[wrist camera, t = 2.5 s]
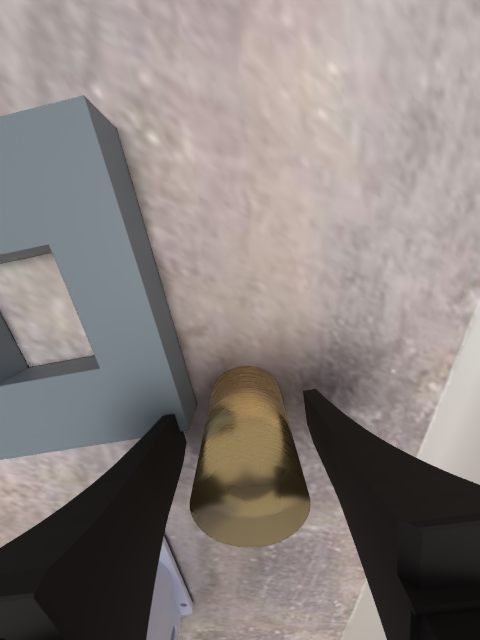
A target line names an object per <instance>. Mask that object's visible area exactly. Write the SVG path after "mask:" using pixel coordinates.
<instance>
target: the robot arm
mask: <svg viewBox="0 0 480 640" xmlns="http://www.w3.org/2000/svg"><path fill="white" fill-rule="evenodd" d="M303 395H304V403H305V410H306V418H307V425H308V428H309V431H310V434H311V437H312V440H313V443H314V445H315V447H316V450H317V452H318V454H319V456H320V459H321V461H322V463H323V465H324V467H325V470H326V472H327V474H328V476H329V478H330V481H331V483H332V485H333V487H334V489H335V492H336V494H337V497H338V499H339V501H340V504H341V507H342V509H343V512H344V515H345V518H346V521H347V523H348V526H349V529H350V532H351V535H352V537H353V540H354V543H355V546H356V549H357V552H358V555H359V557H360V560H361V563H362V566H363V569H364V572H365V575H366V578H367V581H368V584H369V587H370V590H371V592H372V595H373V598H374V601H375V604H376V607H377V610H378V613H379V616H380V619H381V623H382V625H383V629H384V632H385V635H386V638H387V640H480V485H478V484H476V483H473V482H470V481H468V480H466V479H463V478H460V477H458V476H455V475H453V474H450V473H448V472H446V471H443V470H441V469H439V468H437V467H434V466H432V465H430V464H428V463H426V462H424V461H421V460H419V459H417V458H415V457H413V456H411V455H409V454H407V453H406V452H404V451H402V450H400V449H398V448H396V447H394V446H392V445H391V444H389V443H387V442H385V441H384V440H382V439H380V438H379V437H377V436H375V435H374V434H372V433H371V432H369V431H368V430H366V429H365V428H363V427H362V426H360V425H359V424H357V423H356V422H355V421H353V420H352V419H351V418H349V417H348V416H347V415H345V414H344V413H343V412H342V411H340V410H339V409H338V408H337V407H335V406H334V405H333V404H332V403H331V402H330V401H328V400H327V399H326V398H325V397H324V396H323V395H322V394H321V393H319V392H318V391H317V390H316V389H312V390H306V391H303ZM185 449H186V439H185V436H184V433H183V431H182V432H180V429H179V426H178V423H177V420H176V416H175V414H170V415H163V416H162V417H161V418H160V419H159V420H158V421H157V422H156V423H155V424H154V425H153V426H152V427H151V429H150V430H149V431H148V432H147V433H146V434H145V435H144V436H143V437H142V438H141V439H140V440H139V441H138V442H137V443H136V444H135V445H134V446H133V447H132V448H131V449H130V450H129V451H128V452H127V453H126V454H125V455H124V456H123V457H122V458H121V459H120V460H119V461H118V462H117V463H116V464H115V465H114V466H113V467H112V468H110V469H109V470H108V471H107V472H106V473H105V474H104V475H102V476H101V477H100V478H99V479H98V480H97V481H95V482H94V483H93V484H92V485H91V486H89V487H88V488H87V489H85V490H84V491H83V492H81V493H80V494H79V495H78V496H76V497H75V498H74V499H72V500H71V501H70V502H69V503H67V504H66V505H65V506H63V507H62V508H60V509H59V510H58V511H56V512H55V513H53V514H52V515H50V516H49V517H48V518H46V519H45V520H43V521H42V522H40V523H39V524H37V525H36V526H34V527H33V528H31V529H30V530H28V531H27V532H25V533H23V534H22V535H20V536H19V537H17V538H15V539H14V540H12V541H11V542H9V543H7V544H6V545H4V546H3V547H1V548H0V640H177V638H178V632H179V626H180V620H181V616H185V615H190V614H192V612H193V603H192V601H191V598H190V596H189V594H188V591H187V589H186V587H185V584H184V582H183V579H182V577H181V575H180V572H179V570H178V568H177V565H176V563H175V561H174V558H173V556H172V554H171V551H170V549H169V547H168V544H167V542H166V539H165V537H164V532H165V527H166V523H167V519H168V515H169V511H170V508H171V504H172V501H173V497H174V494H175V490H176V487H177V483H178V480H179V476H180V473H181V469H182V466H183V461H184V456H185Z"/></svg>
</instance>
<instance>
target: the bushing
mask: <svg viewBox="0 0 480 640" xmlns="http://www.w3.org/2000/svg"><path fill="white" fill-rule="evenodd" d="M190 510H191V514H192V517H193V519H194V521H195V522H196V524H197V525H198V526H199V528H200V529H201V530H202V531H203V532H205V533H206V534H207V535H209V536H210V537H212V538H214V539H215V540H217V541H220V542H222V543H225V544H229V545H233V546H238V547H261V546H267V545H271V544H274V543H277V542H280V541H282V540H284V539H286V538H288V537H289V536H291V535H293V534H294V533H295V532H296V531H297V530H298V529H299V528H300V527H301V526H302V525H303V524H304V522H305V521H306V519H307V517H308V514H309V511H310V497H309V493H308V490H307V486H306V482H305V479H304V475H303V472H302V468H301V465H300V461H299V458H298V454H297V451H296V447H295V443H294V440H293V436H292V433H291V429H290V426H289V422H288V419H287V415H286V411H285V408H284V404H283V401H282V397H281V394H280V390H279V387H278V384H277V382H276V381H275V379H274V378H273V377H272V376H271V375H270V374H269V373H267V372H266V371H264V370H262V369H259V368H256V367H251V366H241V367H236V368H233V369H230V370H228V371H227V372H225V373H224V374H223V375H221V376H220V377H219V379H218V380H217V381H216V383H215V385H214V388H213V392H212V396H211V401H210V406H209V411H208V416H207V421H206V425H205V430H204V435H203V440H202V445H201V449H200V454H199V459H198V464H197V469H196V474H195V478H194V483H193V488H192V493H191V498H190Z"/></svg>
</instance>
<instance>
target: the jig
mask: <svg viewBox="0 0 480 640" xmlns="http://www.w3.org/2000/svg"><path fill="white" fill-rule="evenodd" d="M47 253H52V254H53V256H54V258H55V261H56V263H57V266H58V268H59V270H60V273H61V275H62V278H63V280H64V282H65V285H66V287H67V290H68V292H69V295H70V297H71V299H72V302H73V304H74V307H75V309H76V311H77V314H78V316H79V319H80V321H81V323H82V326H83V328H84V331H85V333H86V336H87V338H88V340H89V343H90V345H91V348H92V350H93V352H94V355H95V356H90V357H84V358H79V359H73V360H68V361H62V362H56V363H51V364H45V365H40V366H34V367H29V368H28V366H27V364H26V362H25V360H24V358H23V356H22V354H21V352H20V350H19V348H18V347H17V345H16V343H15V341H14V339H13V337H12V335H11V333H10V331H9V329H8V327H7V325H6V323H5V321H4V319H3V317H2V316H1V314H0V460H2V459H8V458H15V457H21V456H28V455H34V454H40V453H47V452H53V451H60V450H66V449H73V448H79V447H86V446H92V445H98V444H105V443H111V442H118V441H124V440H131V439H137V438H142V437H143V436H144V435H145V434H146V433H147V432H148V431H149V430H150V429H151V427H152V426H153V425H154V424H155V423H156V422H157V421H158V420H159V419H160V418H161V417H162V416H163V415H170V414H175V416H176V420H177V423H178V426H179V429H180V432H182V431H189V430H190V426H191V423H192V419H193V416H194V412H195V409H196V406H197V404H196V401H195V397H194V394H193V390H192V387H191V384H190V380H189V377H188V373H187V370H186V366H185V363H184V360H183V356H182V353H181V349H180V346H179V342H178V339H177V336H176V332H175V329H174V325H173V322H172V318H171V315H170V311H169V308H168V305H167V301H166V298H165V294H164V291H163V287H162V284H161V281H160V277H159V274H158V270H157V267H156V263H155V260H154V257H153V253H152V250H151V246H150V243H149V239H148V236H147V233H146V229H145V226H144V222H143V219H142V215H141V212H140V209H139V205H138V202H137V198H136V195H135V191H134V188H133V185H132V181H131V178H130V174H129V171H128V167H127V164H126V161H125V157H124V154H123V150H122V147H121V143H120V140H119V136H118V133H117V130H116V127H115V126H114V125H113V124H112V123H111V122H110V121H109V120H108V119H107V118H106V117H105V116H104V115H103V114H102V113H101V112H100V111H99V110H98V109H97V108H96V107H95V106H94V105H93V104H92V103H91V102H90V101H89V100H88V99H87V98H86V97H85V96H80V97H76V98H72V99H68V100H64V101H60V102H56V103H52V104H48V105H44V106H40V107H36V108H32V109H28V110H24V111H20V112H16V113H13V114H9V115H5V116H1V117H0V263H5V262H10V261H14V260H19V259H24V258H28V257H33V256H38V255H43V254H47Z"/></svg>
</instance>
